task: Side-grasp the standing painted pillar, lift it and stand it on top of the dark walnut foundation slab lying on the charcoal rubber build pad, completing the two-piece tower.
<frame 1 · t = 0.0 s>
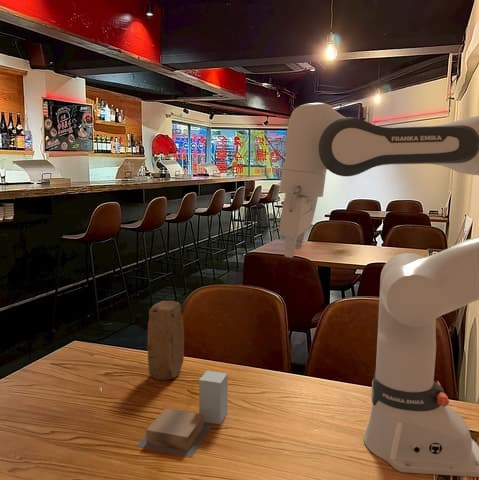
hand: (293, 252, 97), 39 cm above the table, tool pointing down, fingers open, 8 cm apart
base slab: (175, 435, 99), resting on build pad
block: (167, 374, 129), on the table
build pad: (175, 437, 99), on the table
pillar: (213, 418, 106), on the table
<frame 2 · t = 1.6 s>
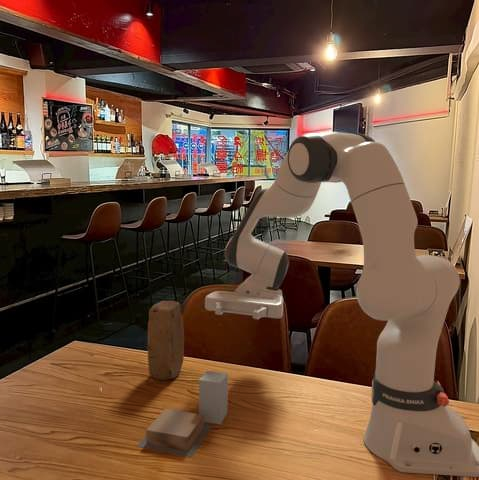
hand: (236, 313, 114), 21 cm above the table, tool horizontal, fingers open, 8 cm apart
nothing on the table moved.
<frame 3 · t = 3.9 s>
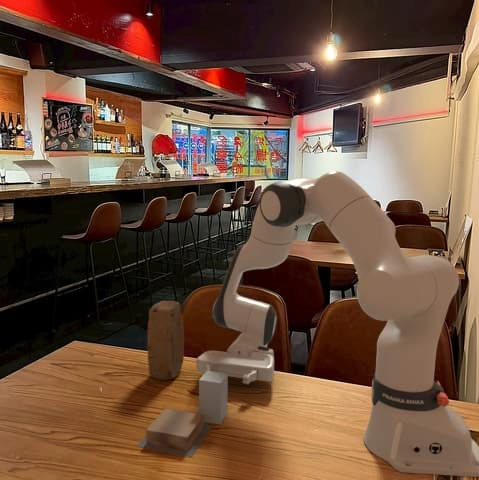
hand: (226, 378, 114), 5 cm above the table, tool horizontal, fingers open, 8 cm apart
nothing on the table moved.
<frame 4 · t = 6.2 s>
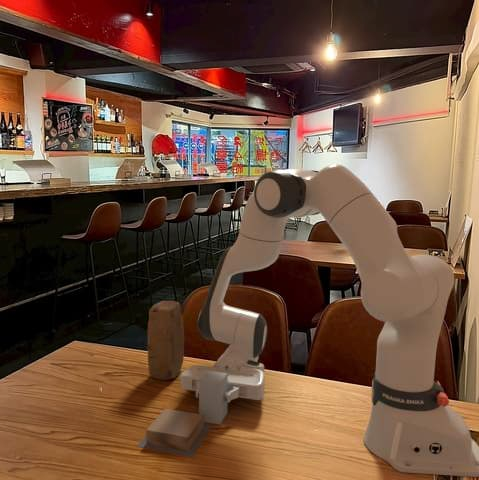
hand: (212, 397, 105), 6 cm above the table, tool horizontal, fingers closed on pillar, 5 cm apart
pillar: (213, 418, 106), on the table, touching gripper
everything else where it was.
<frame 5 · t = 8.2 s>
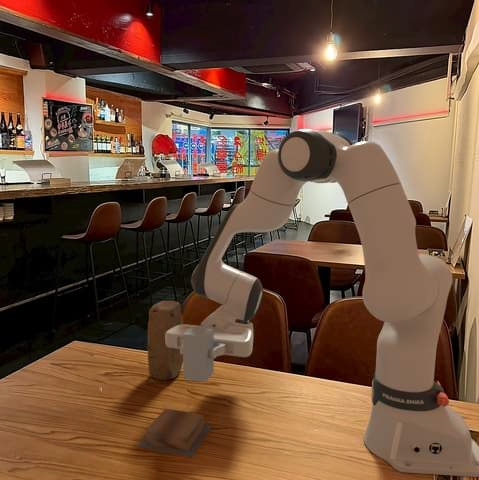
hand: (196, 353, 100), 17 cm above the table, tool horizontal, fingers closed on pillar, 5 cm apart
pillar: (198, 375, 102), point 11 cm above the table, touching gripper
everything else where it was.
when the fingers open (10 cm above the table, at t = 10.3 s): pillar drops 1 cm, resting on base slab.
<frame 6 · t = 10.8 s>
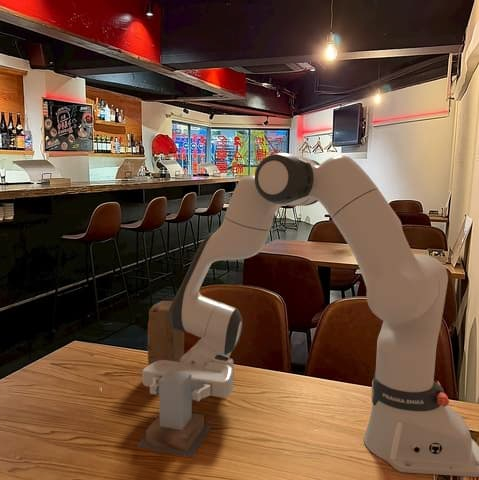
hand: (173, 394, 96), 10 cm above the table, tool horizontal, fingers open, 8 cm apart
base slab: (175, 435, 99), resting on build pad, touching pillar
pillar: (175, 422, 98), point 3 cm above the table, touching base slab
everything else where it was.
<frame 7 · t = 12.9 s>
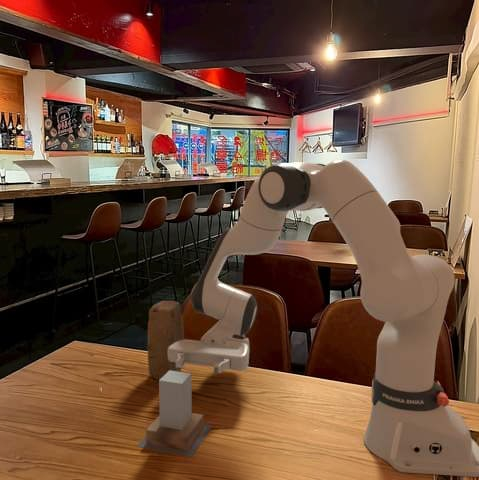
hand: (197, 367, 109), 10 cm above the table, tool horizontal, fingers open, 8 cm apart
nothing on the table moved.
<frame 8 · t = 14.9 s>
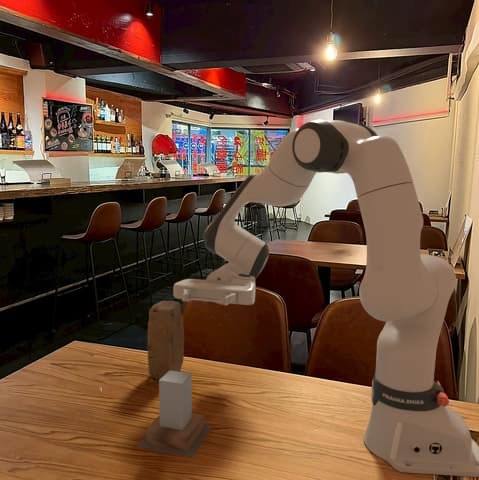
hand: (203, 300, 108), 26 cm above the table, tool horizontal, fingers open, 8 cm apart
nothing on the table moved.
at the end: pillar 0.0 cm off-centre on the base slab, point 3.0 cm above the base slab's base; pillar tilted 0°; the gripper is holding nothing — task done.
